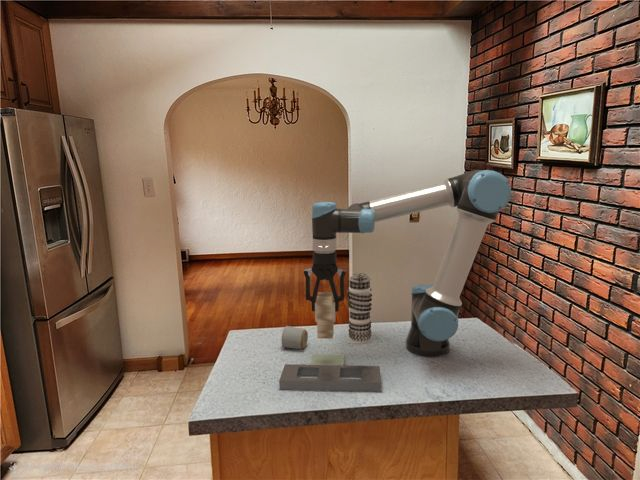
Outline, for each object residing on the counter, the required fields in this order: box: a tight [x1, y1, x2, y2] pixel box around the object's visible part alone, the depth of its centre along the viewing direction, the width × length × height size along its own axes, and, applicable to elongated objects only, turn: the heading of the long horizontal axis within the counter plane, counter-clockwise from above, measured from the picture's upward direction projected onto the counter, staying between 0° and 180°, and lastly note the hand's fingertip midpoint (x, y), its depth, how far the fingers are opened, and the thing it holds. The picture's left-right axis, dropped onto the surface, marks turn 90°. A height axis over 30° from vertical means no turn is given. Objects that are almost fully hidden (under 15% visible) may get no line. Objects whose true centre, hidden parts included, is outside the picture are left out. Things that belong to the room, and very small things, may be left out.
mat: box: [309, 353, 345, 365], centre depth 139 cm, size 11×11×1 cm
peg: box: [316, 291, 335, 340], centre depth 136 cm, size 5×5×14 cm
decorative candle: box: [346, 272, 373, 344], centre depth 155 cm, size 9×9×25 cm
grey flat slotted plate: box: [278, 363, 383, 393], centre depth 127 cm, size 30×10×3 cm, turn 85°
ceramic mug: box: [281, 325, 309, 350], centre depth 152 cm, size 11×8×8 cm
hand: (325, 320), depth 136 cm, fingers closed on peg, 5 cm apart
